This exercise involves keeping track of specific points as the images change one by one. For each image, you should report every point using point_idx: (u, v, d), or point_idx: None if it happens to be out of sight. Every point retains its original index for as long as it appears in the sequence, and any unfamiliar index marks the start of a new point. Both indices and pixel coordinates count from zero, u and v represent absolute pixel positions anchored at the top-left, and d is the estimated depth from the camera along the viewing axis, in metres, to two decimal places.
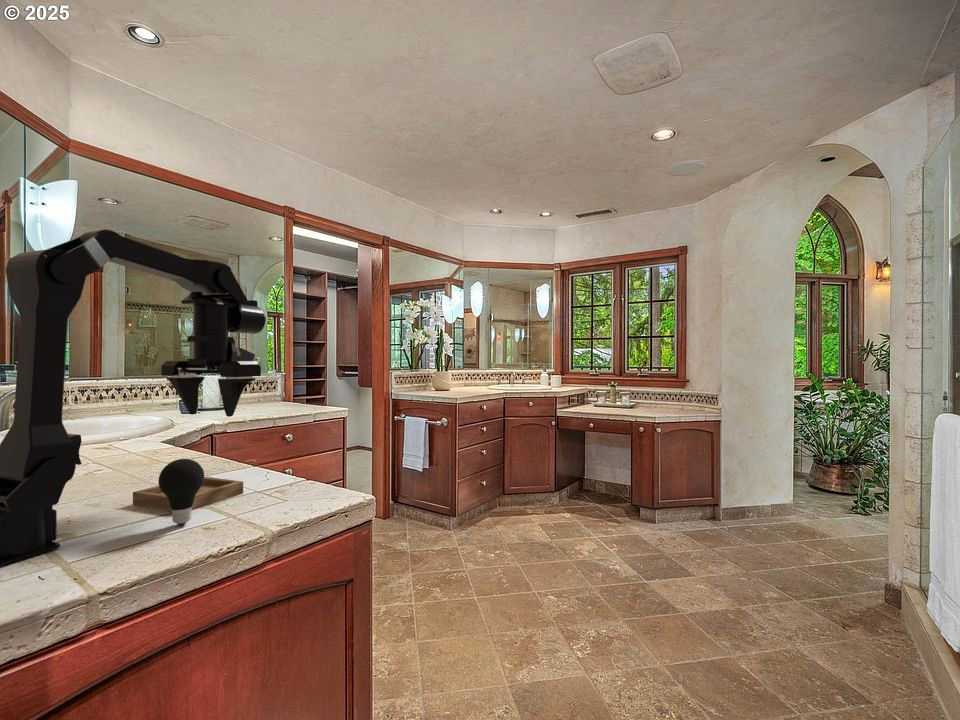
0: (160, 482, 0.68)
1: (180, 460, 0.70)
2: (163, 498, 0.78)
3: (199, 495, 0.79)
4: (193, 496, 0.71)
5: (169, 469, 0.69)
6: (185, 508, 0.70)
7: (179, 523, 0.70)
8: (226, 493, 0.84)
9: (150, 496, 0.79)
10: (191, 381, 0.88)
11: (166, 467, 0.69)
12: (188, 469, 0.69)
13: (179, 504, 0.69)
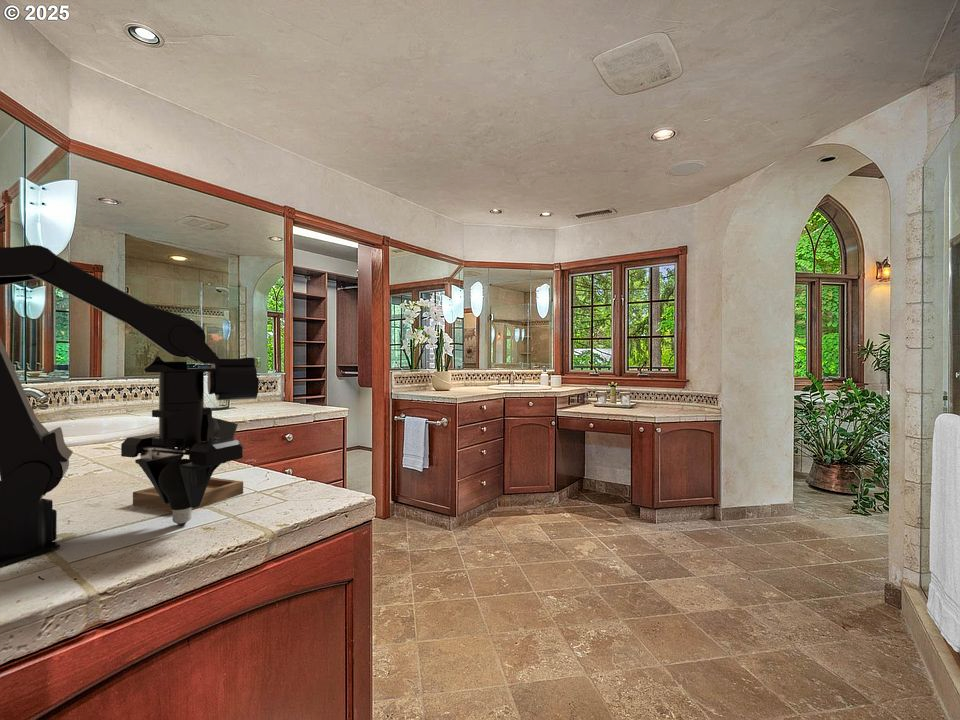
0: (160, 482, 0.68)
1: (180, 460, 0.70)
2: None
3: None
4: None
5: (169, 469, 0.69)
6: (185, 508, 0.70)
7: (179, 523, 0.70)
8: (226, 493, 0.84)
9: (150, 496, 0.79)
10: (166, 462, 0.72)
11: (166, 467, 0.69)
12: None
13: (179, 504, 0.69)
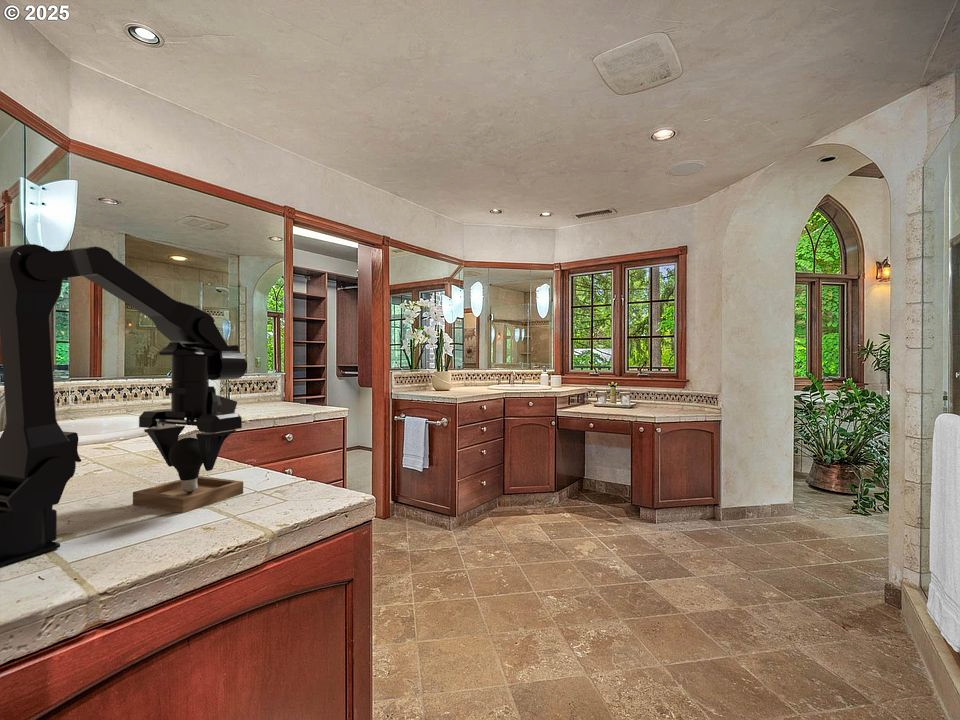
0: (170, 457, 0.81)
1: (186, 438, 0.83)
2: (163, 498, 0.78)
3: (199, 495, 0.79)
4: (198, 469, 0.84)
5: (177, 446, 0.81)
6: (192, 479, 0.83)
7: (187, 491, 0.83)
8: (226, 493, 0.84)
9: (150, 496, 0.79)
10: (170, 432, 0.86)
11: (174, 444, 0.82)
12: (193, 446, 0.82)
13: (187, 475, 0.82)
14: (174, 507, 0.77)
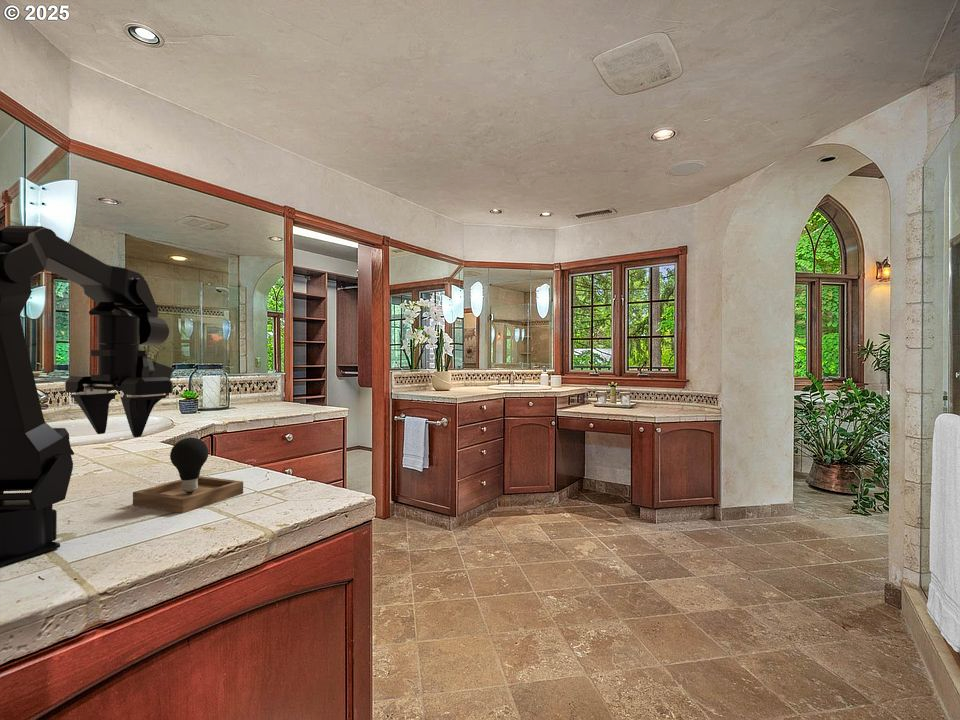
0: (171, 456, 0.81)
1: (188, 438, 0.83)
2: (163, 498, 0.78)
3: (199, 495, 0.79)
4: (199, 469, 0.84)
5: (179, 446, 0.82)
6: (192, 479, 0.83)
7: (187, 491, 0.83)
8: (226, 493, 0.84)
9: (150, 496, 0.79)
10: (99, 398, 0.82)
11: (176, 444, 0.82)
12: (195, 445, 0.82)
13: (187, 475, 0.82)
14: (174, 507, 0.77)
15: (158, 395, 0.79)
